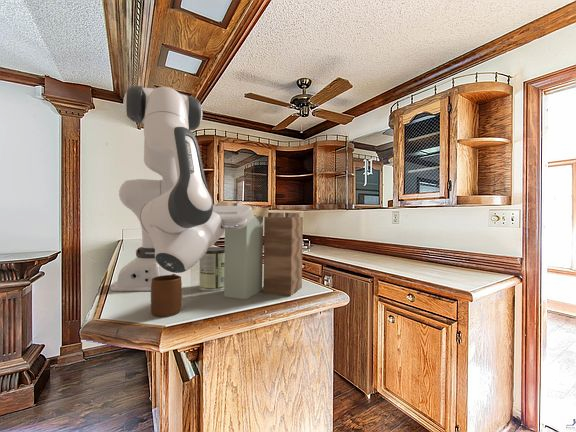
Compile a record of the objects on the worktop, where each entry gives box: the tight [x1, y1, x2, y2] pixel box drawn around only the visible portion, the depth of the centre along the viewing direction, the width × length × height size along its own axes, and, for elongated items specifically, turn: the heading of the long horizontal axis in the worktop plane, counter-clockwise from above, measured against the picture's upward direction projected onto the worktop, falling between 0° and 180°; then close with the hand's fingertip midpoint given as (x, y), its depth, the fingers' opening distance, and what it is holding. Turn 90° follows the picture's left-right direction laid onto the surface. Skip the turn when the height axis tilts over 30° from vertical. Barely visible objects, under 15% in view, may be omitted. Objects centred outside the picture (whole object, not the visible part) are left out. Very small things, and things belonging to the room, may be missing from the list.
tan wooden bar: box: [217, 200, 270, 218], centre depth 92 cm, size 20×4×3 cm, turn 147°
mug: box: [150, 274, 183, 318], centre depth 78 cm, size 12×8×9 cm, turn 6°
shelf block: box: [223, 216, 264, 300], centre depth 95 cm, size 12×8×26 cm, turn 160°
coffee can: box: [198, 246, 225, 292], centre depth 102 cm, size 10×10×14 cm
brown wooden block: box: [262, 212, 304, 297], centre depth 100 cm, size 12×10×28 cm
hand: (231, 203), depth 87 cm, fingers closed on tan wooden bar, 5 cm apart
